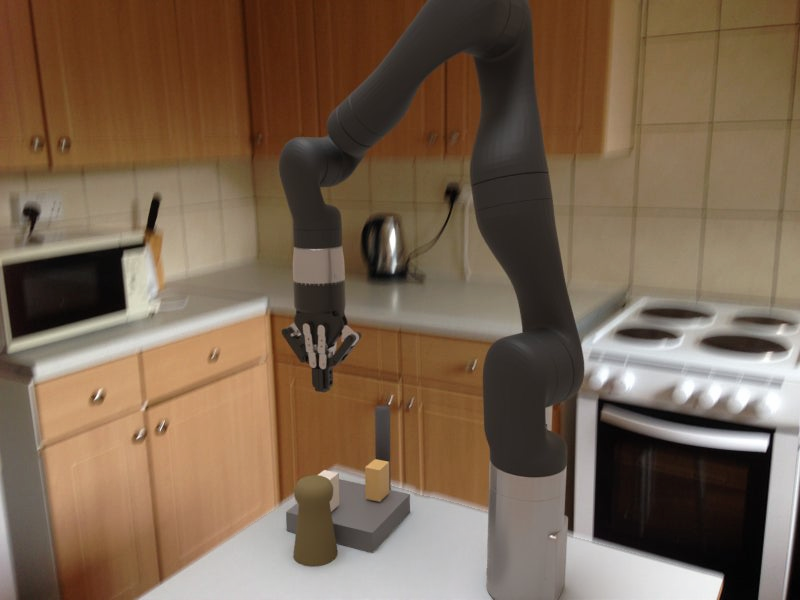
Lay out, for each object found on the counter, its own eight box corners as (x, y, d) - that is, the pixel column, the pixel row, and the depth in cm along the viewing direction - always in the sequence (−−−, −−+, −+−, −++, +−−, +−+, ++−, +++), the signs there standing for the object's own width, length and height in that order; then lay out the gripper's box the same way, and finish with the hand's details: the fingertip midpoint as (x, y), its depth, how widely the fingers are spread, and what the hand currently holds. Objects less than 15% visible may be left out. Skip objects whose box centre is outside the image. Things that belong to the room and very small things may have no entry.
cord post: (393, 488, 119) (392, 406, 116) (386, 494, 117) (386, 411, 114) (379, 485, 120) (379, 404, 117) (373, 491, 118) (372, 409, 115)
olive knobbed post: (341, 543, 103) (339, 470, 100) (333, 567, 97) (331, 490, 94) (299, 541, 103) (296, 468, 101) (288, 565, 97) (285, 488, 95)
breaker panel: (409, 512, 111) (409, 494, 111) (372, 552, 100) (372, 532, 100) (330, 494, 117) (329, 477, 116) (286, 530, 106) (285, 511, 105)
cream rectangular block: (339, 504, 107) (338, 472, 106) (328, 514, 104) (327, 481, 103) (325, 501, 108) (324, 469, 107) (313, 511, 105) (312, 478, 104)
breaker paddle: (389, 492, 110) (389, 461, 109) (379, 501, 108) (379, 470, 107) (375, 489, 111) (374, 459, 110) (365, 498, 109) (365, 467, 108)
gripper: (371, 275, 107) (373, 388, 111) (294, 270, 113) (298, 378, 116) (346, 284, 101) (349, 404, 104) (266, 278, 106) (271, 392, 109)
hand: (322, 390), depth 110 cm, fingers closed
